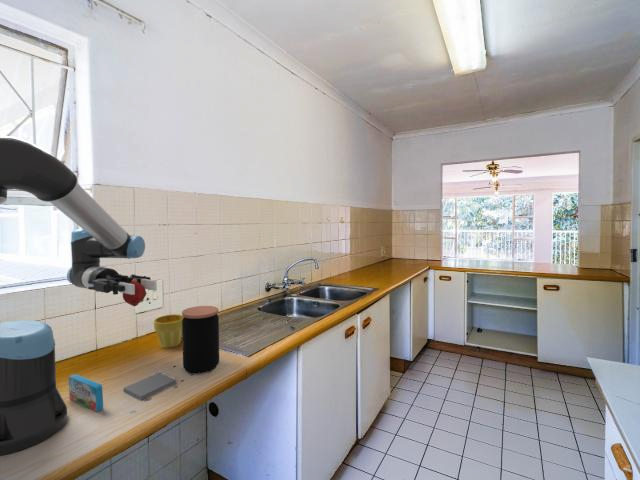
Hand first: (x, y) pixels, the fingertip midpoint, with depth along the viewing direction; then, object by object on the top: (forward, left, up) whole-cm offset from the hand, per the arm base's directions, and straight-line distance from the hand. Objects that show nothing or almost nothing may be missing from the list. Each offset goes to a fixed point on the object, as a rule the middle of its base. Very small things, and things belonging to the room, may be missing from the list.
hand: (144, 287), depth 90 cm
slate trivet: (-2, -4, -27) cm, 27 cm away
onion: (0, +5, -6) cm, 8 cm away
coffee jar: (+14, -6, -27) cm, 31 cm away
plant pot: (+20, +18, -27) cm, 38 cm away
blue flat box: (-15, +2, -27) cm, 31 cm away
